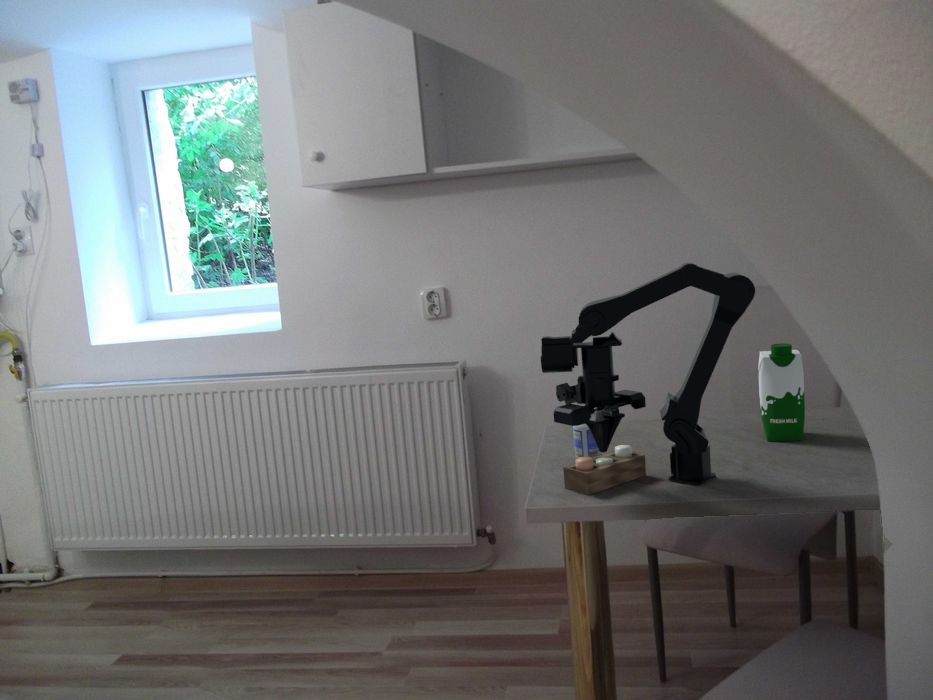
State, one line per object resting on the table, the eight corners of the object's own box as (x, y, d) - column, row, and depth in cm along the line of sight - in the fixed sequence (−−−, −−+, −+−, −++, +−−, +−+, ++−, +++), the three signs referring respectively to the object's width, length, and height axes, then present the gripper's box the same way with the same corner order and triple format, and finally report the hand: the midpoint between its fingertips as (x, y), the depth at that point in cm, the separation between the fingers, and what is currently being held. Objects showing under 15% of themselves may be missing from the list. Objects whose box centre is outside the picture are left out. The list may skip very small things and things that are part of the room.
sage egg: (605, 467, 160) (604, 456, 160) (617, 470, 158) (616, 459, 158) (593, 471, 159) (592, 460, 158) (605, 474, 156) (604, 463, 156)
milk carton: (763, 442, 175) (759, 347, 172) (759, 431, 183) (755, 341, 180) (808, 441, 172) (805, 345, 169) (802, 430, 181) (799, 338, 178)
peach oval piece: (585, 467, 157) (584, 456, 157) (597, 470, 155) (596, 459, 154) (572, 471, 156) (571, 460, 155) (584, 474, 153) (583, 463, 153)
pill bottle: (602, 452, 178) (599, 407, 176) (599, 460, 173) (596, 414, 171) (577, 453, 179) (573, 408, 178) (573, 460, 174) (570, 414, 173)
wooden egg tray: (621, 469, 165) (620, 449, 165) (646, 475, 160) (644, 454, 160) (564, 487, 157) (563, 467, 156) (588, 495, 152) (587, 473, 151)
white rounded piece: (623, 455, 163) (623, 444, 163) (635, 457, 161) (635, 446, 160) (611, 458, 161) (611, 447, 161) (624, 461, 159) (623, 450, 158)
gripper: (603, 358, 167) (608, 434, 170) (531, 374, 157) (537, 455, 159) (645, 363, 158) (649, 443, 160) (571, 380, 148) (577, 466, 150)
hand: (603, 451), depth 158 cm, fingers closed
